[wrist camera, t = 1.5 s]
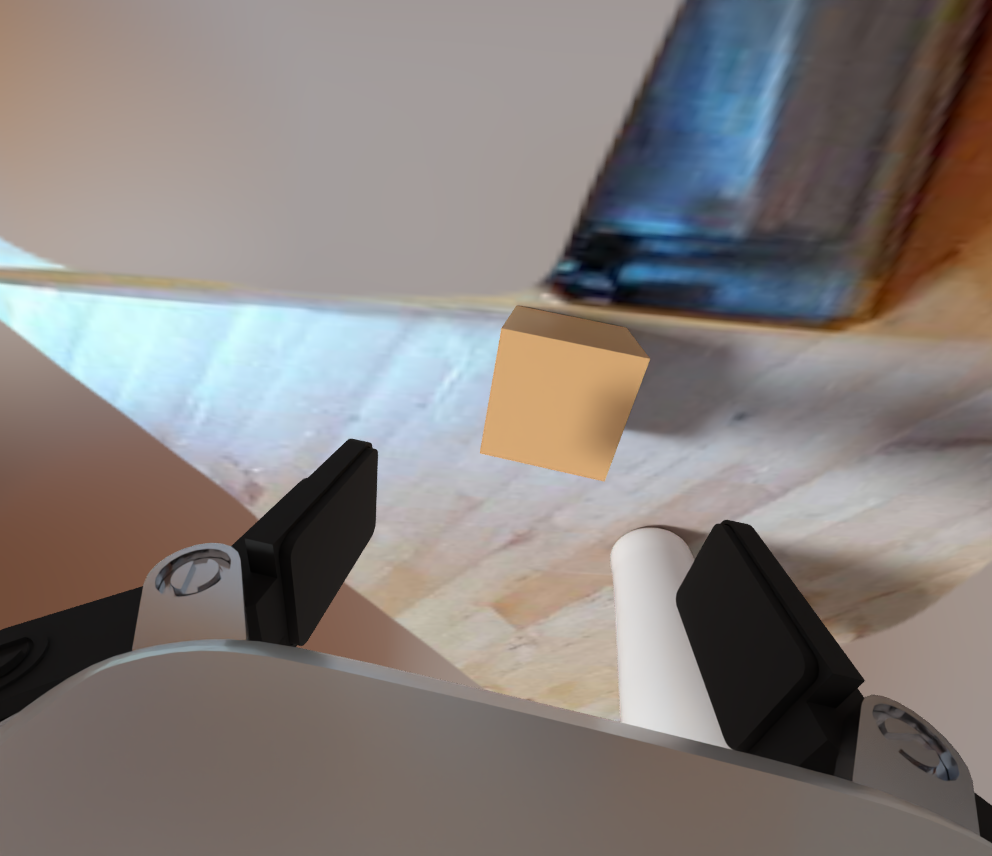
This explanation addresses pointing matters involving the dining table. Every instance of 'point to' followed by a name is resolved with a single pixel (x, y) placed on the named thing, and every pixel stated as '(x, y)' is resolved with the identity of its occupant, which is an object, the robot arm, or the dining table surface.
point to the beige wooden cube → (561, 392)
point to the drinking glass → (657, 639)
